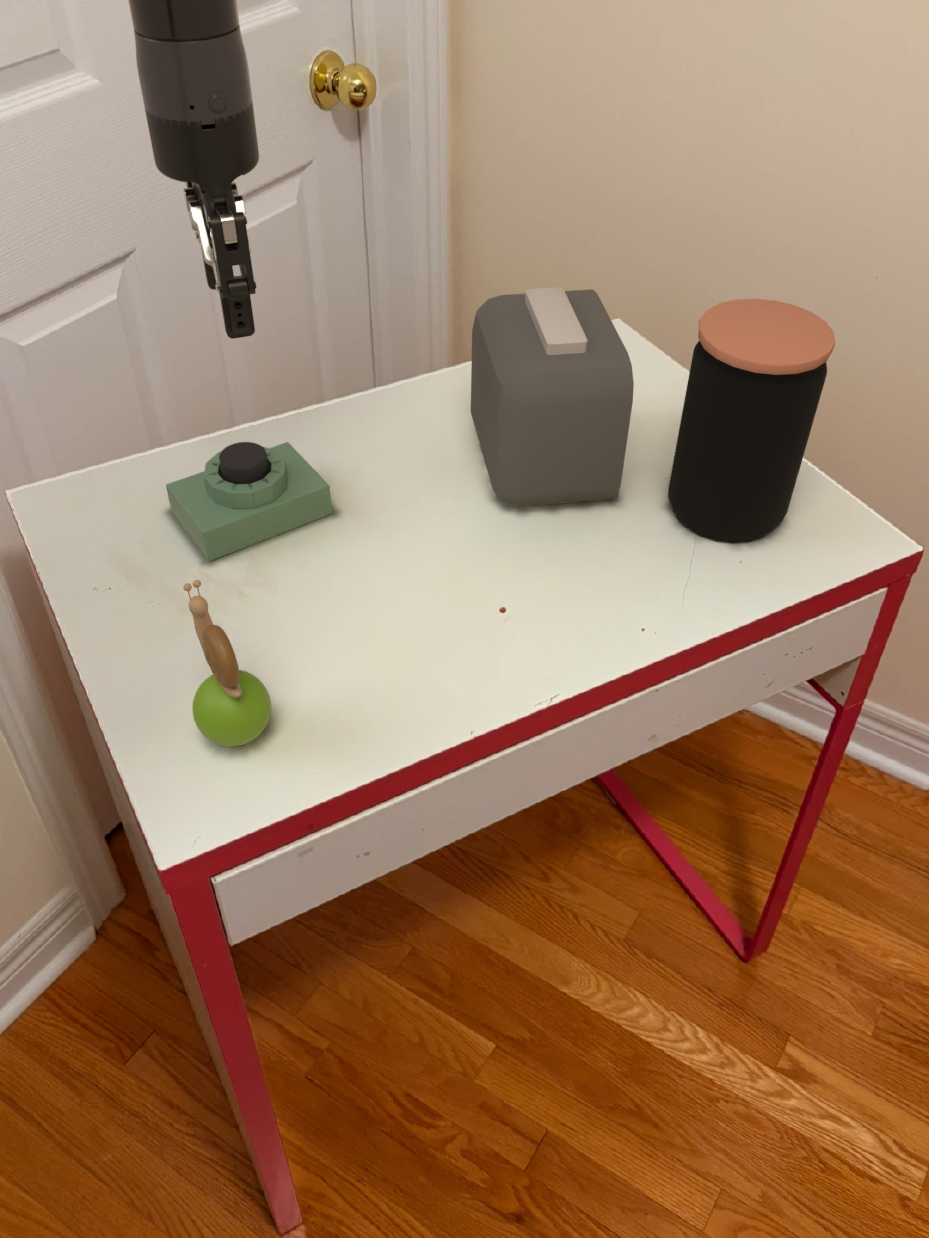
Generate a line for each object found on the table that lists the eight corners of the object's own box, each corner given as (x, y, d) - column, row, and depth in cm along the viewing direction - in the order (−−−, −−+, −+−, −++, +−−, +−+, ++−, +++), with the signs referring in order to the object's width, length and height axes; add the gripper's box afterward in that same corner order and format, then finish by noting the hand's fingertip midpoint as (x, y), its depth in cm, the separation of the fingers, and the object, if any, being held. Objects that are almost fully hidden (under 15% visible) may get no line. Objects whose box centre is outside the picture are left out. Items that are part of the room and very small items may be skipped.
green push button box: (208, 562, 89) (199, 516, 86) (171, 513, 94) (161, 467, 91) (332, 513, 94) (328, 468, 91) (291, 469, 99) (285, 424, 95)
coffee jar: (809, 520, 94) (865, 339, 82) (723, 563, 90) (768, 379, 77) (725, 462, 101) (765, 286, 88) (641, 499, 96) (670, 320, 84)
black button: (234, 491, 89) (231, 474, 88) (214, 467, 91) (211, 451, 90) (276, 475, 91) (274, 459, 89) (256, 453, 93) (253, 436, 92)
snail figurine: (251, 685, 79) (227, 566, 71) (287, 741, 75) (267, 622, 67) (183, 713, 77) (150, 594, 69) (216, 773, 73) (187, 654, 65)
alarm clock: (616, 511, 95) (638, 358, 84) (493, 522, 94) (499, 368, 83) (575, 412, 106) (590, 266, 96) (465, 421, 105) (467, 274, 94)
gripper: (131, 72, 78) (171, 279, 89) (157, 139, 68) (198, 361, 79) (232, 63, 80) (259, 266, 91) (271, 126, 70) (296, 345, 81)
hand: (231, 310), depth 85 cm, fingers open, 8 cm apart
